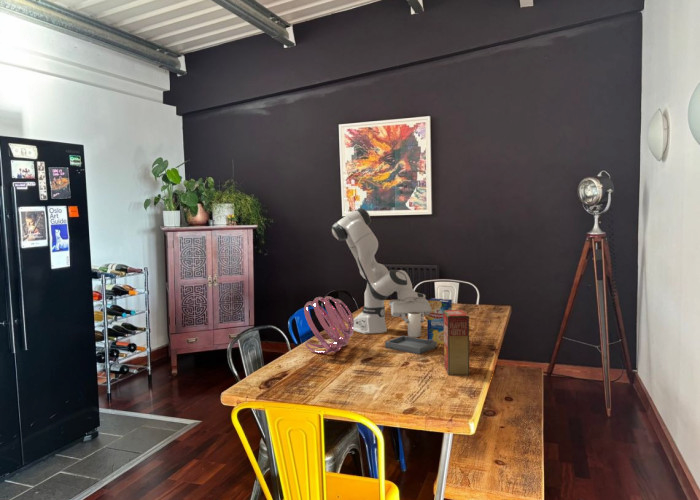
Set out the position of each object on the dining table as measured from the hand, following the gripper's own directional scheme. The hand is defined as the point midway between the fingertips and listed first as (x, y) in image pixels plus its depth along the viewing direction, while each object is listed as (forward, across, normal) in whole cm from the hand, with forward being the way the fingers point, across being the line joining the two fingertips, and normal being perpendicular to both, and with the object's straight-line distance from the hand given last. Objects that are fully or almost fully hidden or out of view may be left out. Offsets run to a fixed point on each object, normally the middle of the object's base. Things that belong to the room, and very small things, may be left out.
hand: (414, 322), depth 251 cm
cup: (+4, 0, +5) cm, 7 cm away
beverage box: (+2, +18, +18) cm, 25 cm away
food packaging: (+34, +5, -14) cm, 38 cm away
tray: (+6, 0, +14) cm, 15 cm away
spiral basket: (+2, -40, +18) cm, 44 cm away
